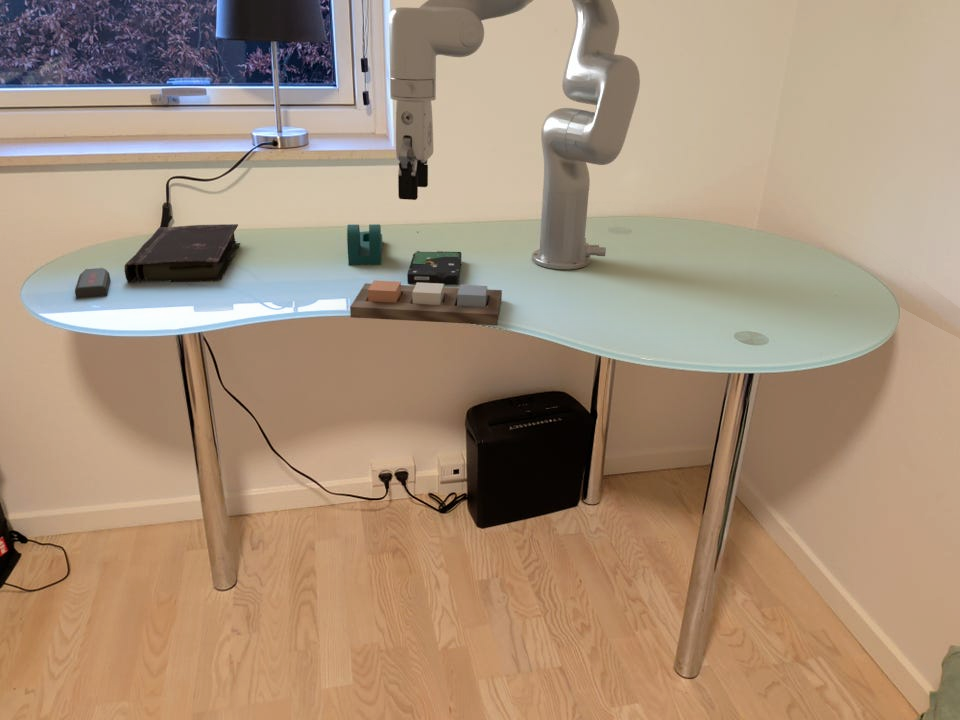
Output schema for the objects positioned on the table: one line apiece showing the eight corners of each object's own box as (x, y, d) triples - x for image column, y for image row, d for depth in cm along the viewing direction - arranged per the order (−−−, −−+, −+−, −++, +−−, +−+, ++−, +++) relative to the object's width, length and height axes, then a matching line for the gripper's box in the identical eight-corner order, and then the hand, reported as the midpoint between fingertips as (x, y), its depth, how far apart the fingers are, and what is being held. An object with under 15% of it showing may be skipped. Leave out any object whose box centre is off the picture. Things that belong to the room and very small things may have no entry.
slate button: (487, 301, 138) (487, 285, 137) (484, 311, 133) (485, 295, 132) (460, 299, 138) (460, 284, 137) (457, 310, 134) (457, 294, 132)
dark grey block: (76, 301, 138) (73, 287, 136) (83, 279, 148) (80, 266, 146) (107, 298, 139) (105, 284, 138) (112, 277, 149) (109, 264, 148)
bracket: (381, 265, 158) (379, 229, 155) (348, 266, 158) (346, 229, 154) (382, 240, 174) (381, 207, 171) (353, 240, 174) (351, 207, 170)
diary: (126, 287, 145) (120, 262, 143) (159, 248, 168) (154, 226, 165) (225, 283, 148) (221, 259, 145) (244, 245, 170) (241, 223, 168)
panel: (501, 300, 141) (501, 290, 140) (497, 325, 131) (497, 314, 130) (365, 293, 143) (365, 283, 142) (350, 317, 132) (350, 306, 131)
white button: (443, 299, 138) (443, 283, 137) (440, 309, 134) (440, 293, 133) (417, 297, 139) (416, 282, 137) (412, 307, 134) (412, 292, 133)
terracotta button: (401, 296, 139) (400, 281, 138) (396, 306, 134) (395, 291, 133) (374, 295, 139) (373, 280, 138) (368, 305, 135) (367, 289, 133)
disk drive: (459, 288, 148) (461, 263, 162) (459, 275, 147) (461, 250, 160) (407, 287, 148) (413, 262, 162) (406, 273, 147) (413, 249, 160)
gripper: (426, 96, 116) (425, 205, 124) (443, 85, 132) (442, 183, 139) (378, 94, 117) (381, 203, 124) (401, 83, 132) (402, 181, 140)
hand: (413, 192), depth 132 cm, fingers open, 9 cm apart
